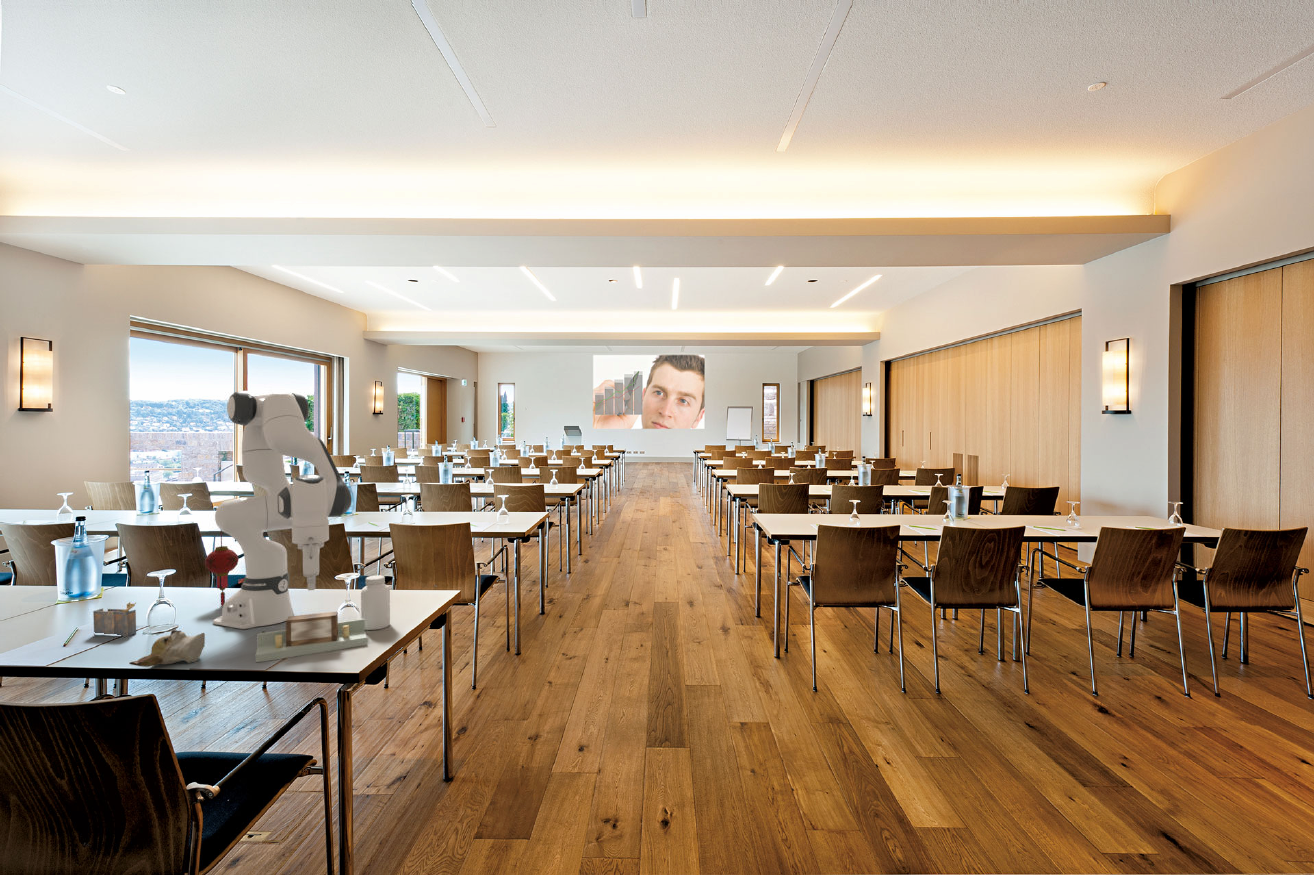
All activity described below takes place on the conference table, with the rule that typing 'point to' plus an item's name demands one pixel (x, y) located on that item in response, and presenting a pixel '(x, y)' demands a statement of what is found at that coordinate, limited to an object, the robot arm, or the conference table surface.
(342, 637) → the ledge
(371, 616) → the pill bottle
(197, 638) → the ceramic sculpture
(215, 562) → the lantern
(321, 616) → the wooden box
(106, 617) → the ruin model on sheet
